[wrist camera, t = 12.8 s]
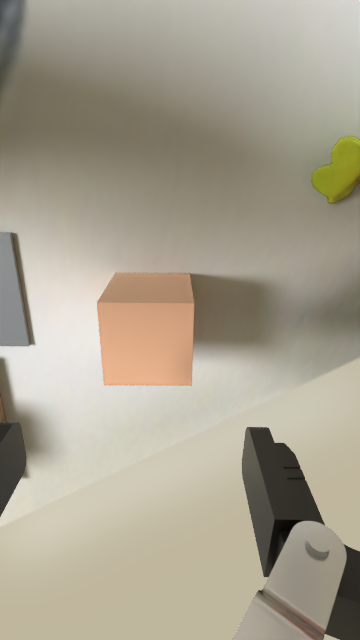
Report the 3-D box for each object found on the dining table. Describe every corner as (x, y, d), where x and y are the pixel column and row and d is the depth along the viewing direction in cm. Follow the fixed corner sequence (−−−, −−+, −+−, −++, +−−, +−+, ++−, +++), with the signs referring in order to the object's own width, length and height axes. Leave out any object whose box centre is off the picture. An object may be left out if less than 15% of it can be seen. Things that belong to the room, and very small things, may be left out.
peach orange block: (115, 272, 23) (96, 302, 18) (189, 273, 23) (194, 303, 18) (119, 339, 25) (104, 385, 20) (188, 339, 25) (191, 385, 20)
